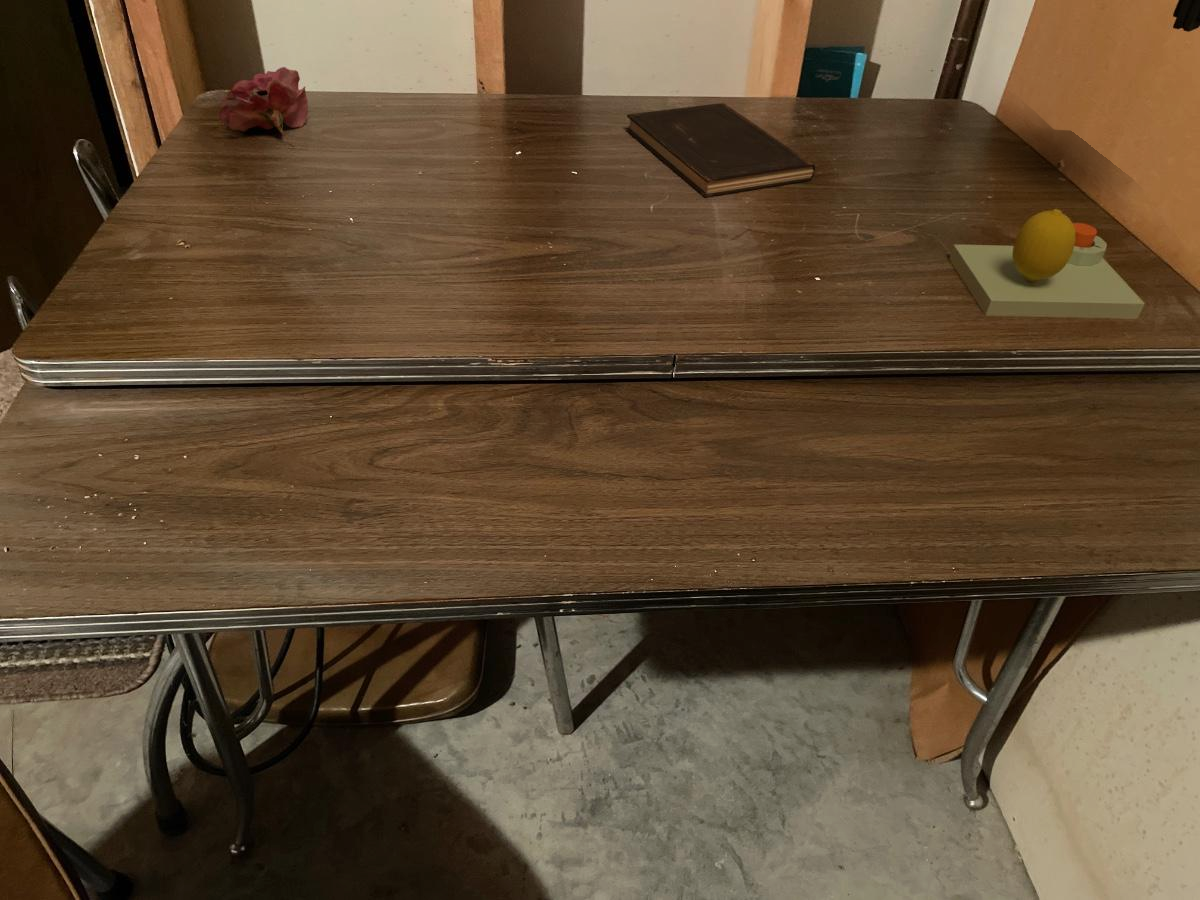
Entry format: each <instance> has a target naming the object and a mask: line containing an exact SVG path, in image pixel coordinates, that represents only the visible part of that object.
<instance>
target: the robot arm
mask: <svg viewBox="0 0 1200 900" xmlns="http://www.w3.org/2000/svg"><path fill="white" fill-rule="evenodd" d="M1172 17H1173V18H1175V20H1174V22H1173V26H1172V29H1175V30H1180V29H1182V30H1183V31H1184V32H1188V33H1189V32H1192V31H1194V30H1197V29H1199V28H1200V0H1178V1H1177V4H1176V5H1175V8H1174V10H1173V13H1172Z"/></svg>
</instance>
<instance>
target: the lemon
mask: <svg viewBox="0 0 1200 900" xmlns="http://www.w3.org/2000/svg"><path fill="white" fill-rule="evenodd" d="M1075 238H1076V234H1075V227H1074V225H1073V221H1072V220H1071V219H1070V218H1069V216H1067V215H1066V214H1064V213H1063V212H1062V210H1060V209H1059V208H1054V209H1052V210H1045V211H1041V212H1039V213H1035V214H1034V215H1033V216H1031V217H1030V218H1029V219H1027V220H1026V221H1025V222H1024V224H1023V225H1022V227H1020V229H1019V231H1018V233H1017V235H1016V237H1015V240H1014V242H1013V245H1012V246H1013V254H1012V255H1013V261H1014V264H1015V267H1016V268H1017V270H1018V271H1019V272H1020V273H1021V274H1023V275H1024V276H1025V277H1026V279H1027V280H1028V281H1030V282H1033V281H1036V280H1038V279H1046V278H1049V277H1052V276H1054V275H1055V274H1057V273H1058V272H1060V271H1061V270H1062V269H1063V268H1064V267H1065V265H1066V264H1067V262H1068V261H1069V259H1070V257H1071V255H1072V252H1073V250H1074V246H1075Z"/></svg>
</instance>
